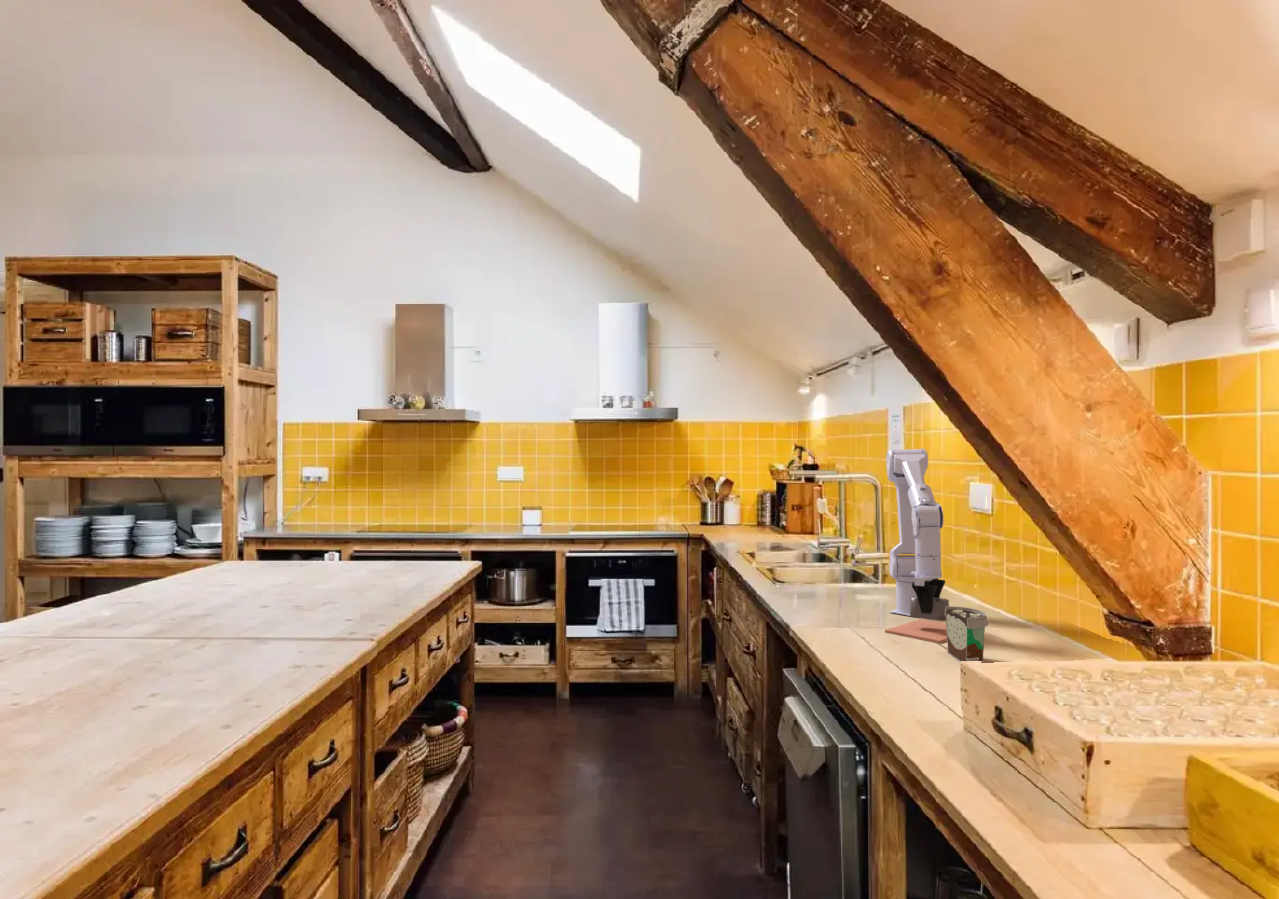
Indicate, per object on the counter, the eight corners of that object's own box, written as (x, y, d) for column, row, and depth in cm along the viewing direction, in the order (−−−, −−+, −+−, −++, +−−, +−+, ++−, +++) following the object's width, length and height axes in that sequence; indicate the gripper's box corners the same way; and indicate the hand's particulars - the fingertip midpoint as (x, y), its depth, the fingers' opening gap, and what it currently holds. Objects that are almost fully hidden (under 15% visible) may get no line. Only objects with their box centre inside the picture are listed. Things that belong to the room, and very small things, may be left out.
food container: (1000, 668, 149) (999, 618, 149) (969, 668, 149) (968, 618, 149) (973, 651, 161) (972, 605, 161) (945, 651, 161) (944, 605, 161)
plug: (913, 613, 183) (912, 595, 183) (956, 618, 176) (956, 599, 176) (907, 616, 180) (907, 598, 180) (951, 622, 173) (951, 602, 173)
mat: (920, 621, 189) (920, 619, 189) (974, 631, 178) (974, 629, 178) (884, 632, 179) (884, 629, 179) (939, 643, 168) (939, 640, 168)
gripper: (920, 550, 187) (921, 604, 187) (901, 557, 175) (902, 615, 175) (949, 552, 182) (951, 607, 182) (931, 559, 171) (933, 618, 171)
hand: (929, 611), depth 178 cm, fingers closed on plug, 4 cm apart
